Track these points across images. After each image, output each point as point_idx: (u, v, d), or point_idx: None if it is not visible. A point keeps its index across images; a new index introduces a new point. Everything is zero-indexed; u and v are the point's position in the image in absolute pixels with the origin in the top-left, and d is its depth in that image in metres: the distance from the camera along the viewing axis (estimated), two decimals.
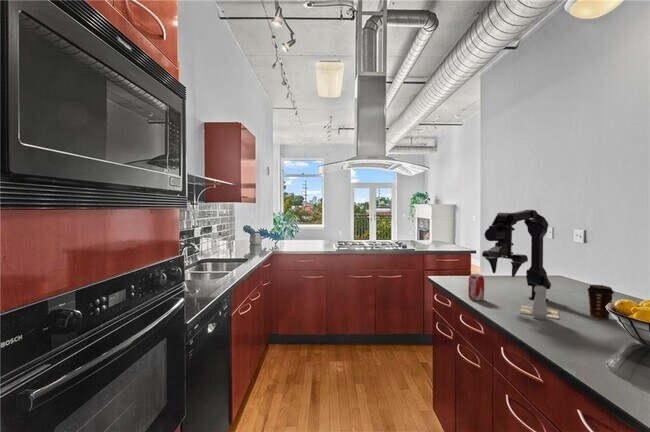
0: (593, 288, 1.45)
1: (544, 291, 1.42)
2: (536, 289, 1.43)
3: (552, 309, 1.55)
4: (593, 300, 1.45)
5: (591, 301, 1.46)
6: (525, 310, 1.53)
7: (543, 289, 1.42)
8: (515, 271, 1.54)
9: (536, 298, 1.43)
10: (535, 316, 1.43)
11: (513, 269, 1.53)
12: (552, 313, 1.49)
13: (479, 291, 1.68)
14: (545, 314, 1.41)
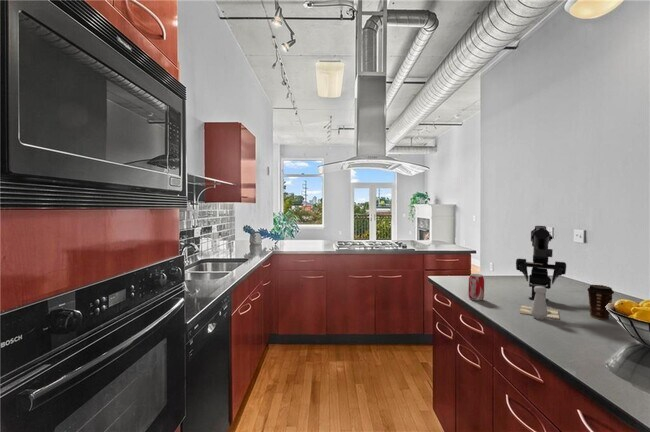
0: (593, 288, 1.45)
1: (544, 291, 1.42)
2: (536, 289, 1.43)
3: (552, 309, 1.55)
4: (593, 300, 1.45)
5: (591, 301, 1.46)
6: (525, 310, 1.53)
7: (543, 289, 1.42)
8: (555, 278, 1.49)
9: (536, 298, 1.43)
10: (535, 316, 1.43)
11: (554, 275, 1.49)
12: (552, 313, 1.49)
13: (479, 291, 1.68)
14: (545, 314, 1.41)
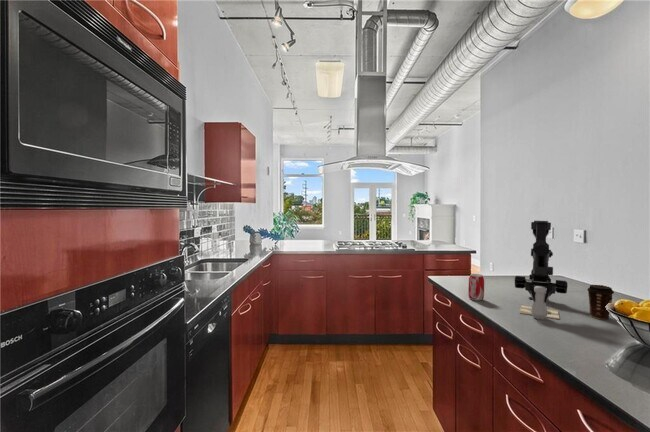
0: (593, 288, 1.45)
1: (544, 291, 1.42)
2: (536, 289, 1.43)
3: (552, 309, 1.55)
4: (593, 300, 1.45)
5: (591, 301, 1.46)
6: (525, 310, 1.53)
7: (543, 289, 1.42)
8: (548, 297, 1.43)
9: (536, 298, 1.43)
10: (535, 316, 1.43)
11: (547, 293, 1.42)
12: (552, 313, 1.49)
13: (479, 291, 1.68)
14: (545, 314, 1.41)
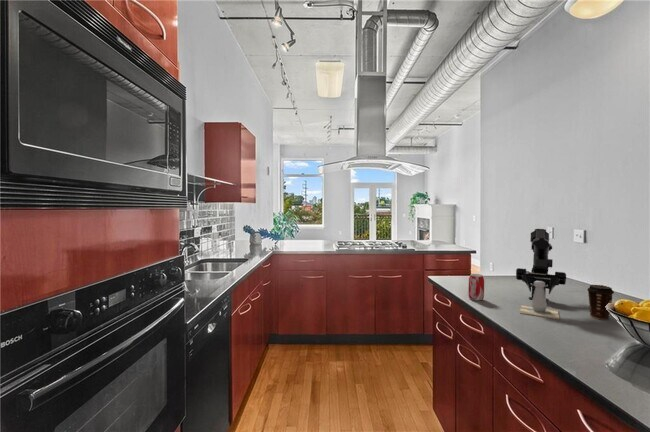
0: (593, 288, 1.45)
1: (543, 285, 1.50)
2: (535, 284, 1.51)
3: (552, 309, 1.55)
4: (593, 300, 1.45)
5: (591, 301, 1.46)
6: (525, 310, 1.53)
7: (542, 283, 1.50)
8: (552, 288, 1.50)
9: (536, 292, 1.51)
10: (535, 309, 1.51)
11: (551, 285, 1.50)
12: (552, 313, 1.49)
13: (479, 291, 1.68)
14: (544, 307, 1.49)
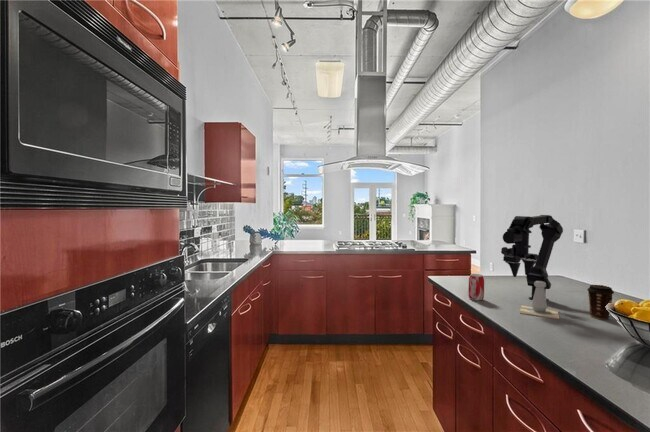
0: (593, 288, 1.45)
1: (544, 285, 1.50)
2: (536, 283, 1.51)
3: (552, 309, 1.55)
4: (593, 300, 1.45)
5: (591, 301, 1.46)
6: (525, 310, 1.53)
7: (543, 283, 1.50)
8: (513, 271, 1.62)
9: (536, 292, 1.51)
10: (535, 309, 1.51)
11: None
12: (552, 313, 1.49)
13: (479, 291, 1.68)
14: (544, 307, 1.49)
